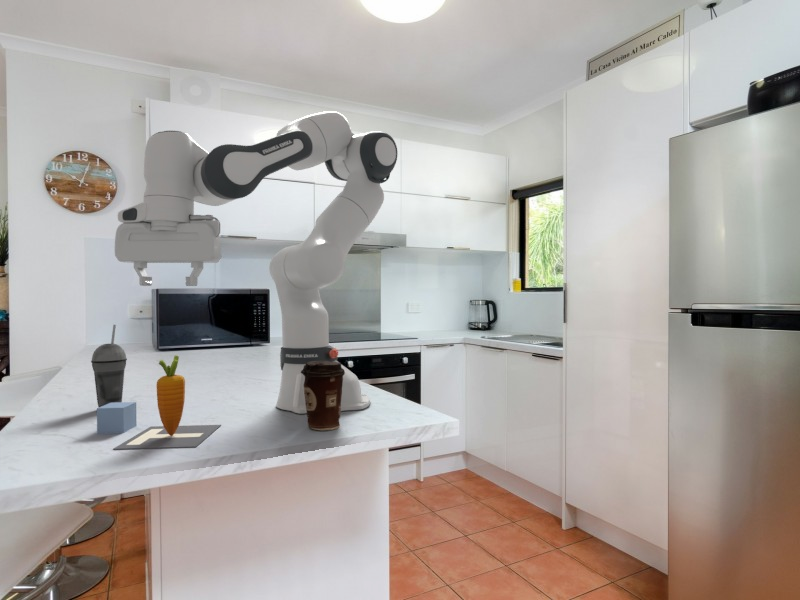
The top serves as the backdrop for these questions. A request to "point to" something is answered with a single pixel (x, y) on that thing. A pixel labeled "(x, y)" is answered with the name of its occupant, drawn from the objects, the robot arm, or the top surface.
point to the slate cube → (116, 417)
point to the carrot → (170, 396)
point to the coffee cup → (323, 394)
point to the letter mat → (169, 437)
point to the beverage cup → (109, 372)
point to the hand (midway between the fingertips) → (168, 285)
